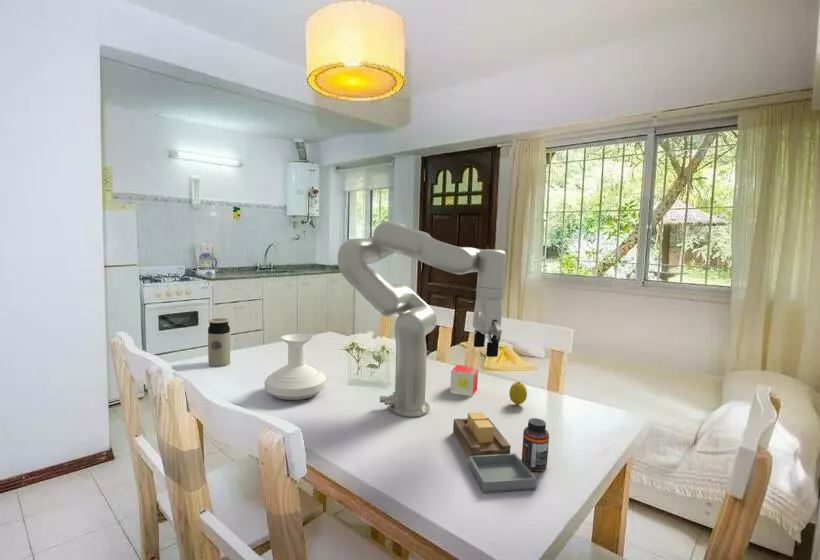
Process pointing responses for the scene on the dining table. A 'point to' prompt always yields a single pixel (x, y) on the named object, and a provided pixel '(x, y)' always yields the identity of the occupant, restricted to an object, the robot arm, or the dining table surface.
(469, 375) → the red patterned box
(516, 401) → the lemon
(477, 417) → the yellow cube
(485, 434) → the yellow wooden cube
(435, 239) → the robot arm
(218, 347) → the travel mug
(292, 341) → the white vase
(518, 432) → the dining table surface
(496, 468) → the tray
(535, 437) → the supplement bottle
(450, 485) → the dining table surface
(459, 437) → the slot block
